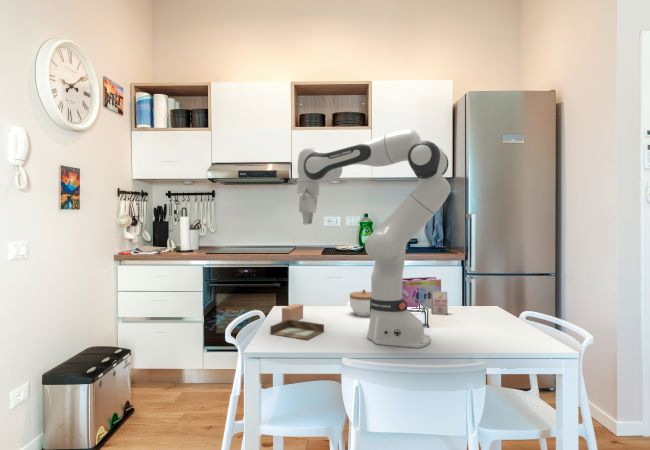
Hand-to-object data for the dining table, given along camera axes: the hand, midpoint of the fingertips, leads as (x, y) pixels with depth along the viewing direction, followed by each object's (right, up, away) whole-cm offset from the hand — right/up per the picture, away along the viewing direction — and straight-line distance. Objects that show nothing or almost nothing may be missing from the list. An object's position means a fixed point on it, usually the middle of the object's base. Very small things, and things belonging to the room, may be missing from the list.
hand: (307, 224), depth 165 cm
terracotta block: (-7, -41, +7) cm, 42 cm away
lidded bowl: (+24, -40, +18) cm, 50 cm away
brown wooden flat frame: (-3, -41, -12) cm, 42 cm away
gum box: (+51, -40, +34) cm, 73 cm away
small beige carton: (+58, -40, +20) cm, 74 cm away
